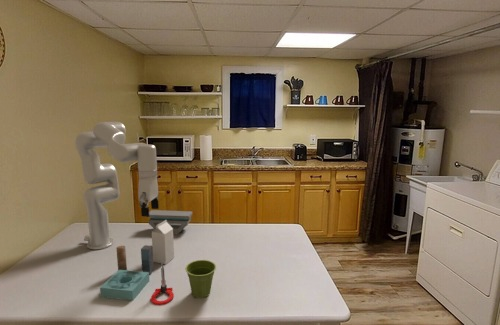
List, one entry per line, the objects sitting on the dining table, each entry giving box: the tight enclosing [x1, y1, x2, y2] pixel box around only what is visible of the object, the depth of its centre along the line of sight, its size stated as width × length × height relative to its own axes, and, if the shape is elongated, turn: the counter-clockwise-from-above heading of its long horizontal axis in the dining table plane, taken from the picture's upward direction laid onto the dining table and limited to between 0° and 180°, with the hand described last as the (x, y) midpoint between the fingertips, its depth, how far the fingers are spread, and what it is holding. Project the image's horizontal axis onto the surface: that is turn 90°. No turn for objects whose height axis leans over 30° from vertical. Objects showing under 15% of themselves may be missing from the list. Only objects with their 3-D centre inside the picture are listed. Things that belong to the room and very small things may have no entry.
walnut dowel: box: [115, 245, 128, 271], centre depth 137 cm, size 4×4×12 cm
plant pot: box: [184, 259, 217, 299], centre depth 122 cm, size 12×12×11 cm
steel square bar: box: [140, 244, 155, 276], centre depth 137 cm, size 4×4×12 cm
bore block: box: [99, 269, 150, 301], centre depth 126 cm, size 13×13×4 cm
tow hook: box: [150, 262, 175, 306], centre depth 119 cm, size 8×13×9 cm
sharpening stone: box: [147, 209, 193, 235], centre depth 183 cm, size 25×8×11 cm, turn 86°
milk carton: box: [151, 220, 175, 265], centre depth 148 cm, size 7×7×19 cm
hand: (150, 212), depth 135 cm, fingers open, 9 cm apart
